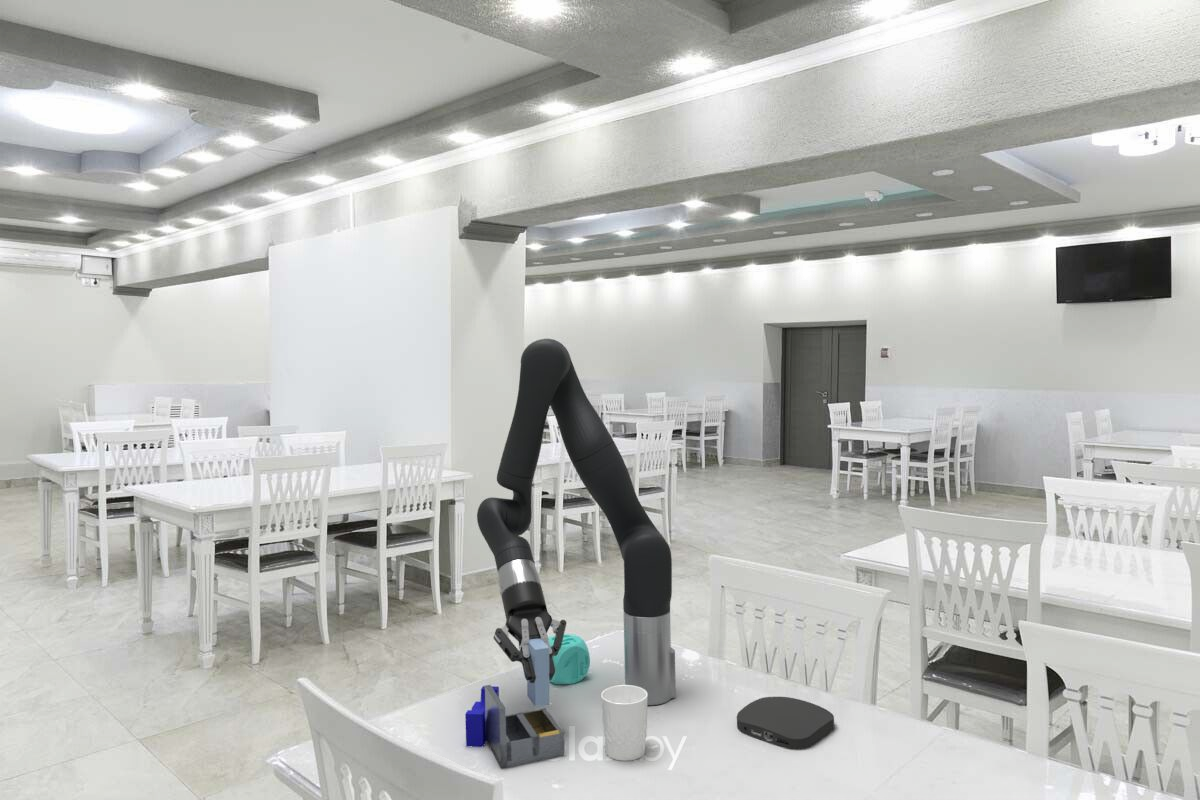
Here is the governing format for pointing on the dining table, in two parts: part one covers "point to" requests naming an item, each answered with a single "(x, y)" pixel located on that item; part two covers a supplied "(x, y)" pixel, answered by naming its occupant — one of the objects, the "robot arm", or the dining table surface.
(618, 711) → the white cup
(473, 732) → the blue piece
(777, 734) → the media streaming box
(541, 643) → the light blue rectangular block
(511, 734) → the grey compartment holder
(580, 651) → the decorative dice
